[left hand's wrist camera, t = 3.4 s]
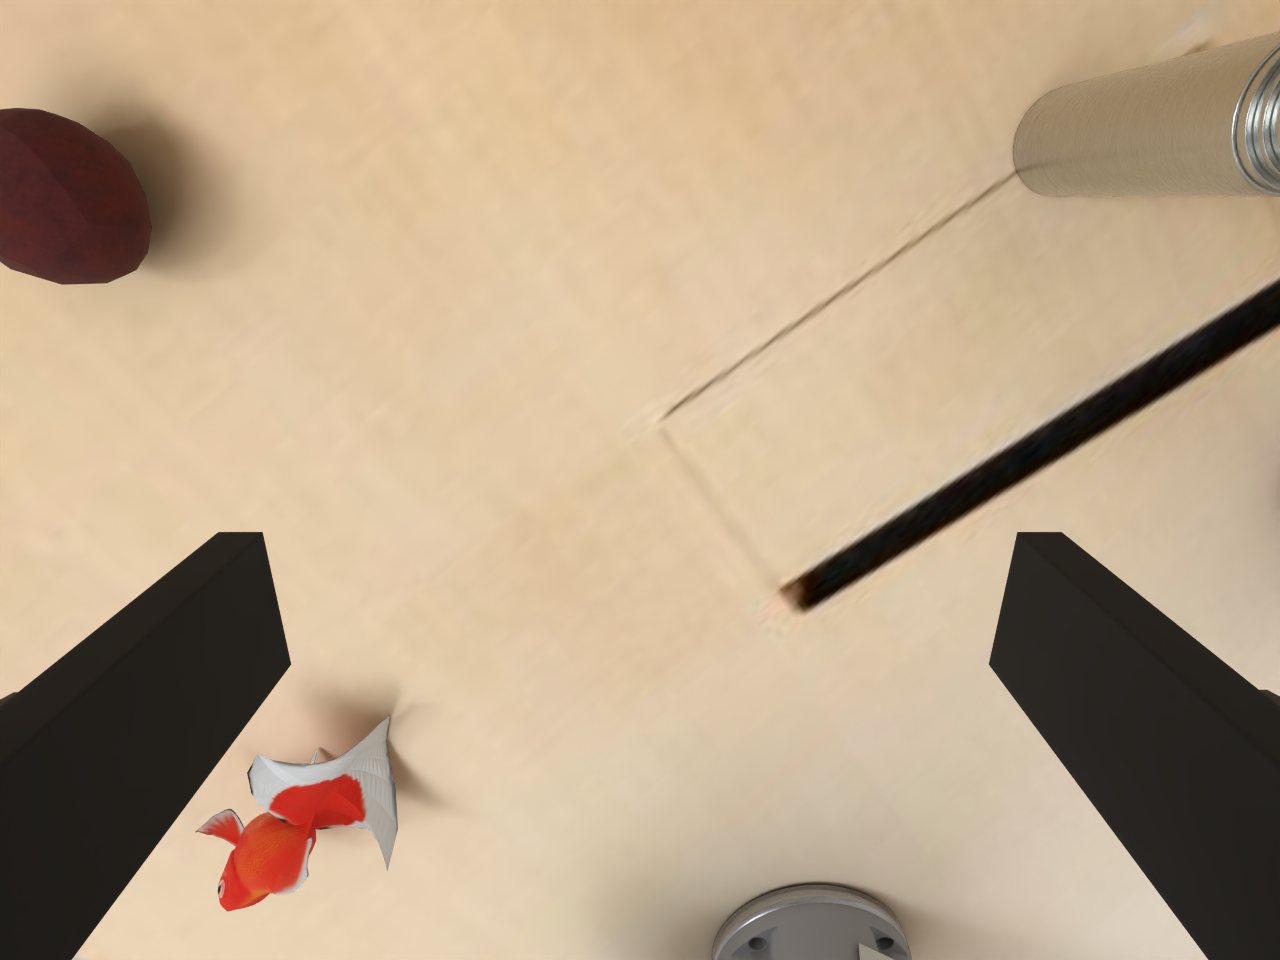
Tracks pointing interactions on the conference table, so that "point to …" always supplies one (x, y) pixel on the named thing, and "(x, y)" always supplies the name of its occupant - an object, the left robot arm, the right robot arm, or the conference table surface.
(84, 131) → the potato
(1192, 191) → the bottle
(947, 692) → the conference table surface
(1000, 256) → the conference table surface
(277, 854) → the fish
